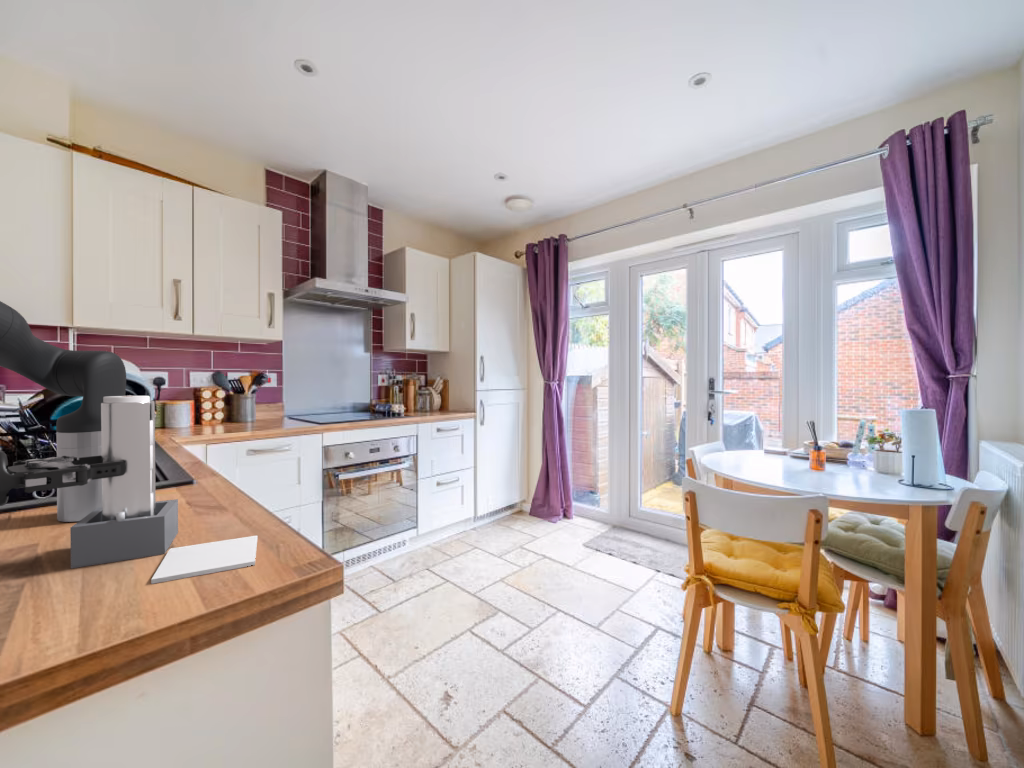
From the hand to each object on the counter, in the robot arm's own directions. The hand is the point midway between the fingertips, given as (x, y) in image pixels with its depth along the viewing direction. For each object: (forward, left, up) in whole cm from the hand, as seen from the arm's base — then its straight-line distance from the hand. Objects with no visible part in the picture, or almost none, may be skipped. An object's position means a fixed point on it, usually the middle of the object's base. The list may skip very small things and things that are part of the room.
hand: (117, 464), depth 68 cm
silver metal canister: (-1, +1, -14) cm, 14 cm away
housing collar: (-1, +1, -14) cm, 14 cm away
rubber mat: (+10, +13, -14) cm, 22 cm away
